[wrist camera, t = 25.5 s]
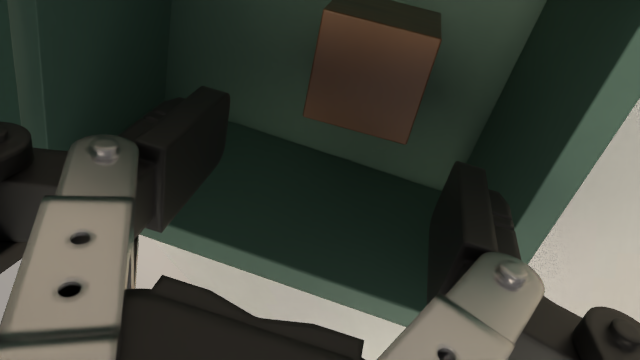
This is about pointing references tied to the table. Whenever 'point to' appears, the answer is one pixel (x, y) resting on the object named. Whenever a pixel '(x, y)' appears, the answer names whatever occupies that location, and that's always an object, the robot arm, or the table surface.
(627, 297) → the table surface
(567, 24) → the box
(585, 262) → the table surface
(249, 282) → the table surface
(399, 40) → the block
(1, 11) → the lid
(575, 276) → the table surface
